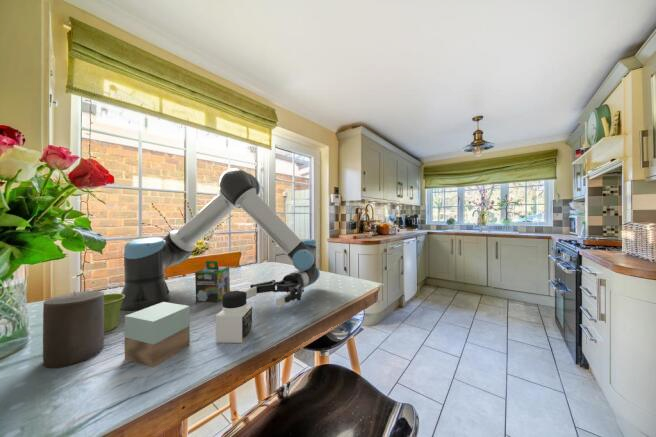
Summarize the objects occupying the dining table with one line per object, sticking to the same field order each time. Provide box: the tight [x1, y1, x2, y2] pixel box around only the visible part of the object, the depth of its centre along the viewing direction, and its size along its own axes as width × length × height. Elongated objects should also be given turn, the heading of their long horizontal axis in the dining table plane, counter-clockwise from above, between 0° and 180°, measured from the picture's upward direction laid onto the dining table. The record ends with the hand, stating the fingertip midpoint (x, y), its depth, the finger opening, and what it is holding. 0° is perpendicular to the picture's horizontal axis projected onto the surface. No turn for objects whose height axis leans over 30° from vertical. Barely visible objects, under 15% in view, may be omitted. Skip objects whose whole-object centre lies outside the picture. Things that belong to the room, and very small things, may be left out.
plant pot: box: [104, 293, 125, 333], centre depth 67 cm, size 9×9×9 cm
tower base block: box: [124, 326, 191, 368], centre depth 56 cm, size 9×9×5 cm
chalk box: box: [194, 260, 231, 303], centre depth 92 cm, size 9×9×15 cm
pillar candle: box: [42, 290, 105, 369], centre depth 55 cm, size 10×10×15 cm
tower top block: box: [124, 301, 191, 345], centre depth 56 cm, size 9×9×5 cm
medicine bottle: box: [215, 289, 253, 344], centre depth 64 cm, size 7×7×12 cm
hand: (258, 300), depth 73 cm, fingers open, 13 cm apart
